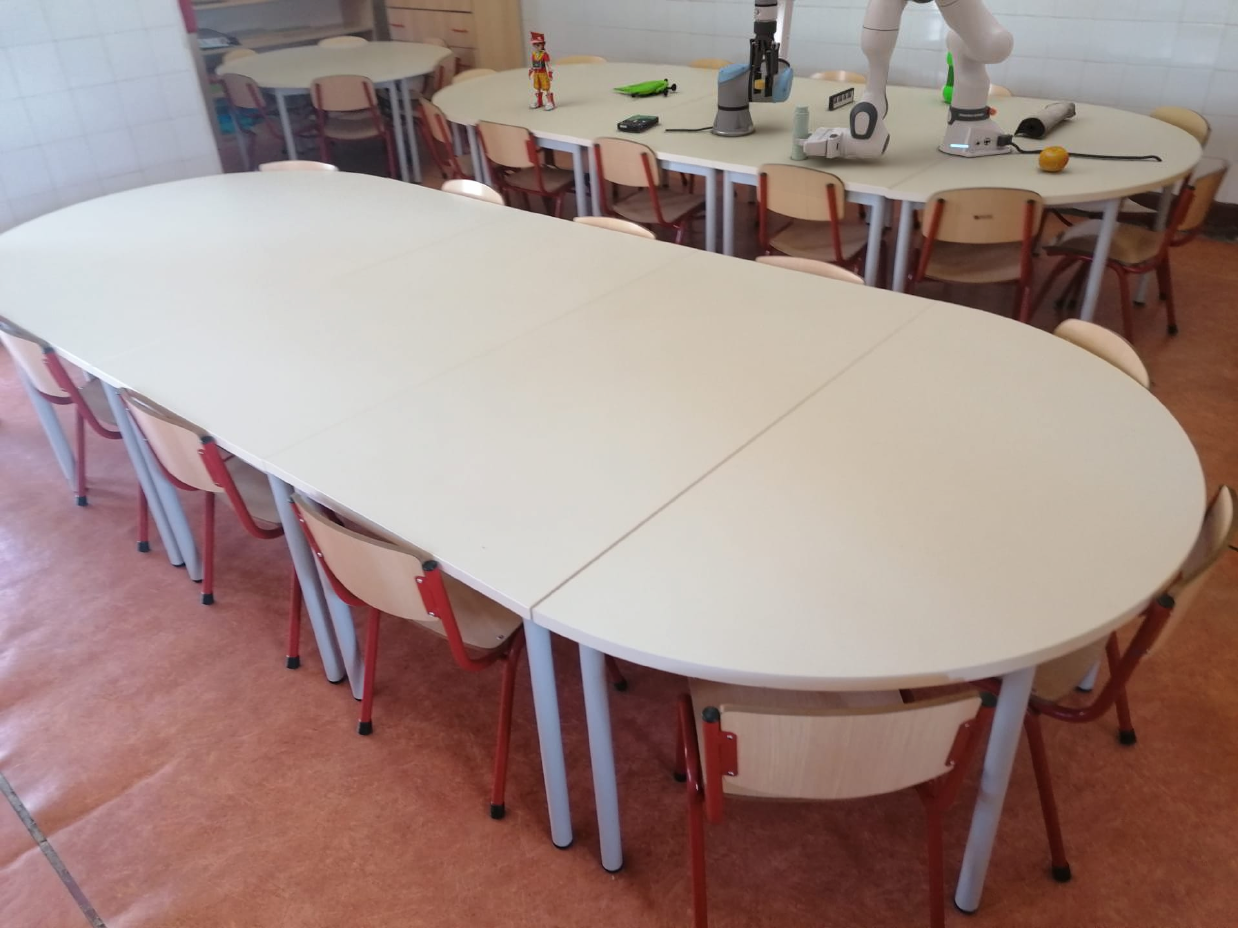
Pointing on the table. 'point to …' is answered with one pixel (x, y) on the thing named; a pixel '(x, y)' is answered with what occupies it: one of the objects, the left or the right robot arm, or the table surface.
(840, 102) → the midi keyboard
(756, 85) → the lid
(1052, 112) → the rolled mat
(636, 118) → the disk drive
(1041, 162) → the fruit
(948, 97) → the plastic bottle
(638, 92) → the toy
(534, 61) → the toy
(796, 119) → the jar
